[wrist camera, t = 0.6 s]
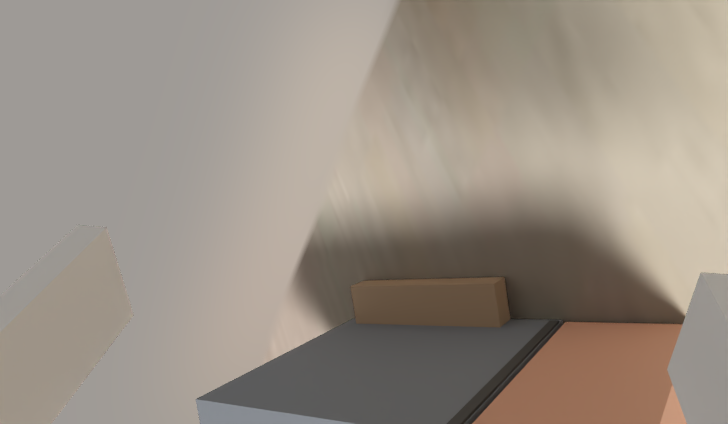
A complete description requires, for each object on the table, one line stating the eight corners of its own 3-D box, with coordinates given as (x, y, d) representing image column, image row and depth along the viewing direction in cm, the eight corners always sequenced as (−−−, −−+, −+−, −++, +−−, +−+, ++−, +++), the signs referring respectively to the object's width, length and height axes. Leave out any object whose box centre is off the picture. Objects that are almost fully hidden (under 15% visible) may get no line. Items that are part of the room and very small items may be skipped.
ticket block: (556, 275, 31) (438, 371, 20) (578, 433, 32) (475, 614, 20) (352, 280, 39) (184, 351, 28) (372, 406, 40) (216, 526, 29)
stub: (691, 324, 28) (644, 473, 16) (701, 403, 28) (661, 605, 17) (565, 321, 31) (454, 443, 20) (575, 392, 31) (470, 553, 20)
